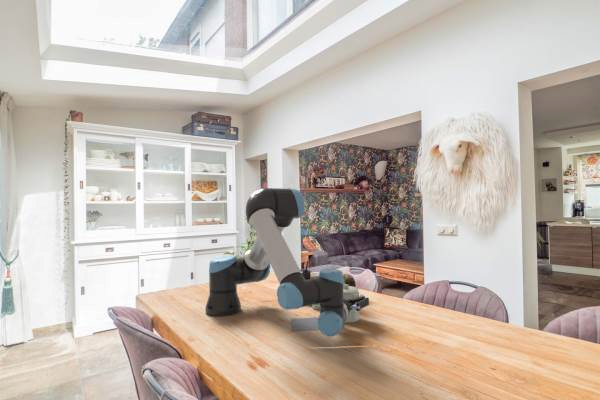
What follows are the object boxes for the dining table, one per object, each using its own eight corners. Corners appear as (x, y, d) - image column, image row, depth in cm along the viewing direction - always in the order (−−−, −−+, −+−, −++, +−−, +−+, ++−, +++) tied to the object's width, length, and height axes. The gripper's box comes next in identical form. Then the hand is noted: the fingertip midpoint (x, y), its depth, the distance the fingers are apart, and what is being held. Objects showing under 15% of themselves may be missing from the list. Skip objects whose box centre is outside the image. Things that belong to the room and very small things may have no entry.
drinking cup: (291, 294, 161) (296, 258, 156) (305, 292, 165) (311, 256, 159) (297, 304, 155) (303, 265, 149) (312, 301, 158) (318, 264, 153)
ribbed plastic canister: (336, 324, 126) (335, 288, 126) (332, 315, 136) (331, 282, 136) (361, 323, 126) (360, 287, 127) (355, 315, 136) (355, 281, 136)
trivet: (291, 332, 118) (291, 331, 118) (290, 319, 132) (290, 318, 132) (330, 330, 119) (330, 329, 119) (325, 318, 133) (325, 317, 133)
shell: (331, 300, 158) (330, 275, 158) (335, 295, 168) (335, 271, 168) (354, 302, 154) (353, 276, 155) (357, 296, 165) (356, 272, 165)
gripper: (304, 319, 117) (319, 302, 138) (373, 324, 111) (377, 306, 131) (304, 297, 118) (318, 284, 138) (372, 301, 111) (376, 287, 132)
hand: (347, 294), depth 135 cm, fingers open, 11 cm apart
